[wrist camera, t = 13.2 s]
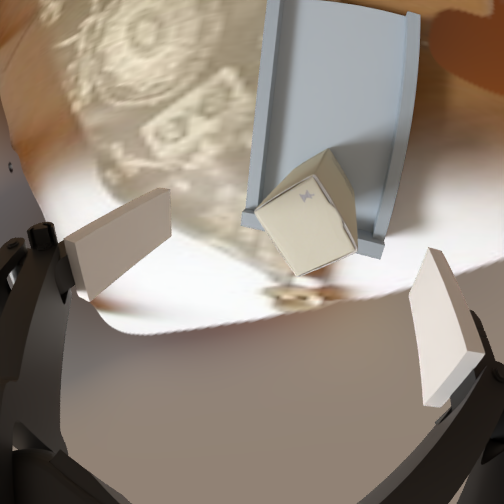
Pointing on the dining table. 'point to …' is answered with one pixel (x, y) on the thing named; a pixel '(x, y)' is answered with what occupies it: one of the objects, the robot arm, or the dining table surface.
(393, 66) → the blue-grey tray
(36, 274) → the robot arm
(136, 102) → the dining table surface
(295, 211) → the box
